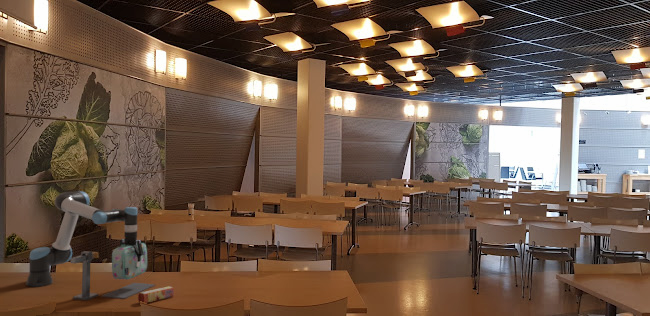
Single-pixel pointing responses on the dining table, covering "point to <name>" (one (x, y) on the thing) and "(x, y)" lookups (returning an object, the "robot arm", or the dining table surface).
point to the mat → (128, 290)
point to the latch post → (86, 279)
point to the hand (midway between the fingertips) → (130, 265)
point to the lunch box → (128, 262)
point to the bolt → (84, 257)
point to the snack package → (156, 294)
